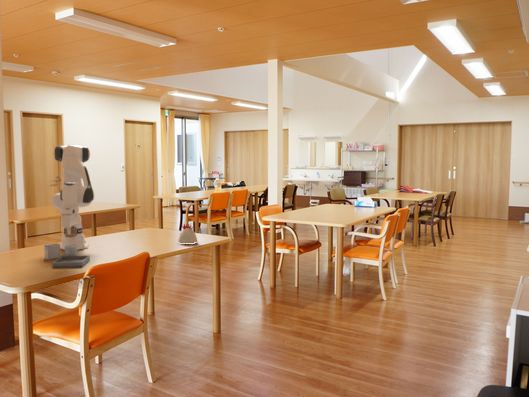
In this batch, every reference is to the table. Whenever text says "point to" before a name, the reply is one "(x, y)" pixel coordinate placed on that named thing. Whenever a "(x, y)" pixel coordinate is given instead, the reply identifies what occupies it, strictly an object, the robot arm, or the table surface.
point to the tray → (70, 261)
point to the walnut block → (73, 232)
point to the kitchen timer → (187, 235)
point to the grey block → (71, 250)
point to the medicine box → (52, 251)
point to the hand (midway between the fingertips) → (71, 233)
